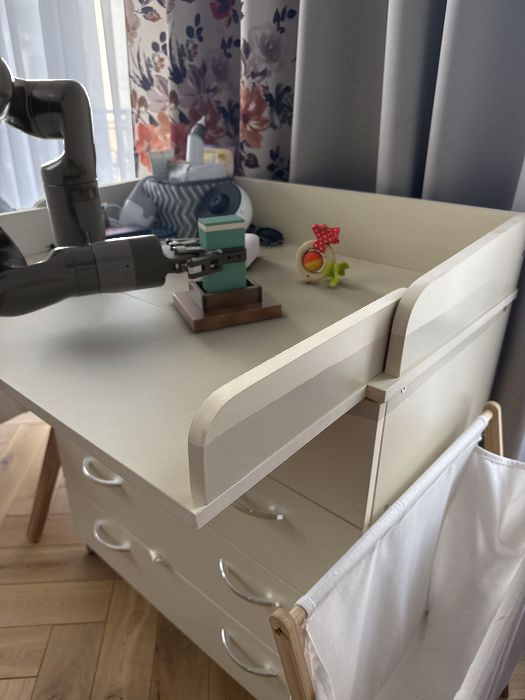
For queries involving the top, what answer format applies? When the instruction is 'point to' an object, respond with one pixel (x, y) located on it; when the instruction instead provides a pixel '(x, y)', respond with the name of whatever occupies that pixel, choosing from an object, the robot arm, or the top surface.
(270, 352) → the top surface
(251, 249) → the charger
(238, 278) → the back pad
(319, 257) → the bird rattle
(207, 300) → the seat base
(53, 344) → the top surface
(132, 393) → the top surface
